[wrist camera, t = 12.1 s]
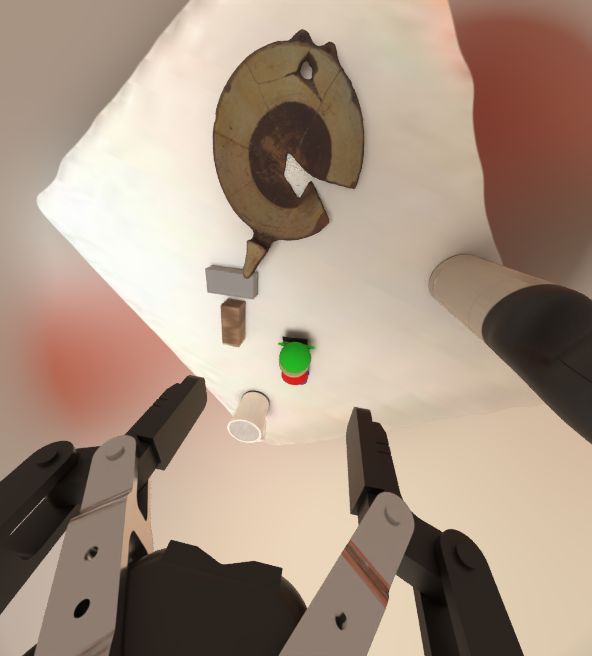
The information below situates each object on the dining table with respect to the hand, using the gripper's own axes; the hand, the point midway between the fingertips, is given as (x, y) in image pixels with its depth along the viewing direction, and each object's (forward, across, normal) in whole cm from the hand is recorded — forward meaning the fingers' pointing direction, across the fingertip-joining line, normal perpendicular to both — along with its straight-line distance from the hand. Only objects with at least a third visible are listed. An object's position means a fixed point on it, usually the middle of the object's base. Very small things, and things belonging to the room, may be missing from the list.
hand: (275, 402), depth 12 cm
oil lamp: (+36, +9, -13) cm, 40 cm away
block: (+34, +17, +11) cm, 40 cm away
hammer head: (+36, +17, +6) cm, 40 cm away
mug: (+36, +11, +43) cm, 57 cm away
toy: (+36, +2, +24) cm, 43 cm away
